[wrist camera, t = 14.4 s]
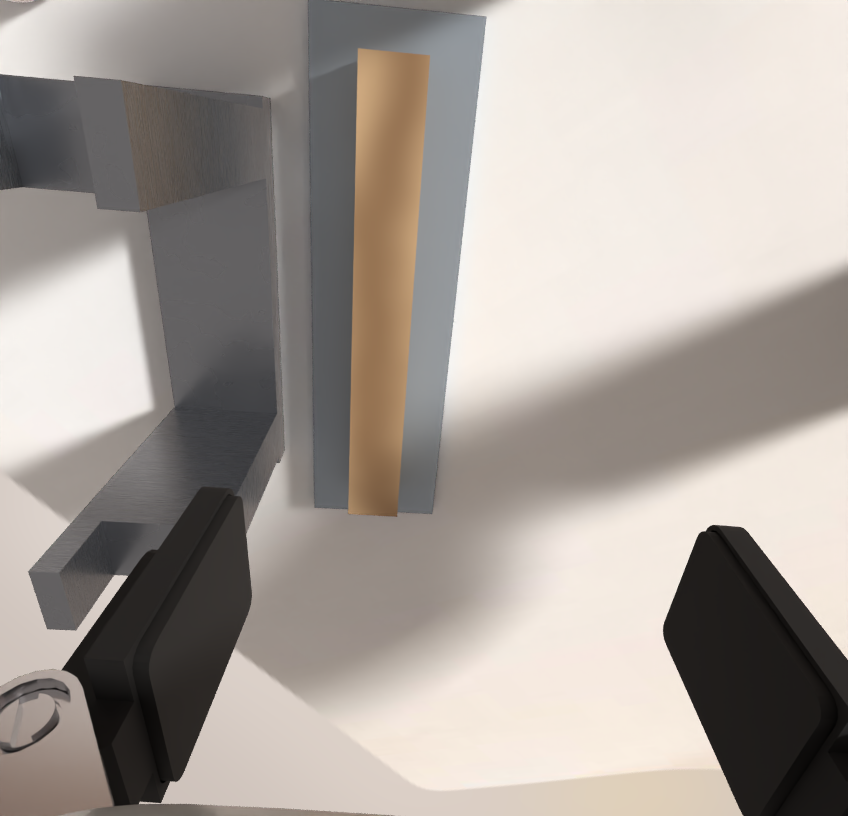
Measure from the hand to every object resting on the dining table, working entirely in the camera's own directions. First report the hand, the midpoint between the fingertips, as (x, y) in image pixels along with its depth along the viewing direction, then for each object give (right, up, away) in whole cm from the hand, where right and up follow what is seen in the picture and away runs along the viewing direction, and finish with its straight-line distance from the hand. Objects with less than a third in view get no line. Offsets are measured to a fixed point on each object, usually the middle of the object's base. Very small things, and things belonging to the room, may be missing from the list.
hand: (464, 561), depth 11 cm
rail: (-3, +9, +19) cm, 21 cm away
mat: (-3, +9, +20) cm, 22 cm away
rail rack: (-12, +10, +19) cm, 25 cm away
